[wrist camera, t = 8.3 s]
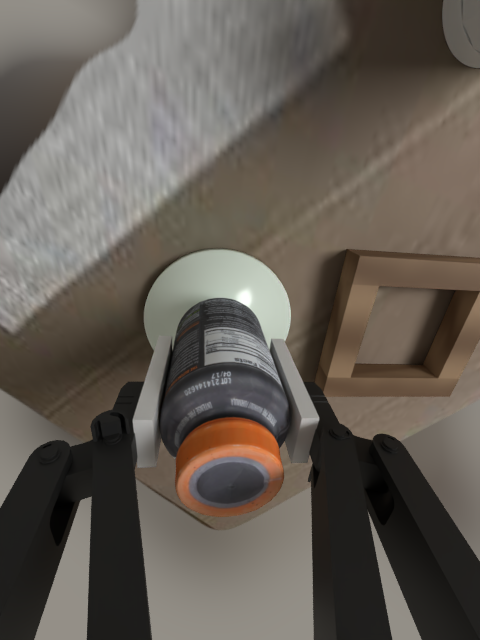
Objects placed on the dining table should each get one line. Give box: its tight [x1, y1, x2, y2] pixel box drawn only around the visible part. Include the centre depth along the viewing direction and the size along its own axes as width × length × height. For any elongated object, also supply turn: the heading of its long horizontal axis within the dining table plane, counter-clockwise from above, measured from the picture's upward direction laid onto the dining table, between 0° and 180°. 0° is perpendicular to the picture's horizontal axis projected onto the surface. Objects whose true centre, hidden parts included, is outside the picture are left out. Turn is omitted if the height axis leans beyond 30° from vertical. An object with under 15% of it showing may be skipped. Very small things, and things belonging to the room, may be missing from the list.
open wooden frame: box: [314, 249, 480, 397], centre depth 23 cm, size 12×12×2 cm
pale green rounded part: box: [144, 248, 291, 350], centre depth 22 cm, size 11×11×1 cm
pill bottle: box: [159, 298, 291, 517], centre depth 15 cm, size 6×6×11 cm
